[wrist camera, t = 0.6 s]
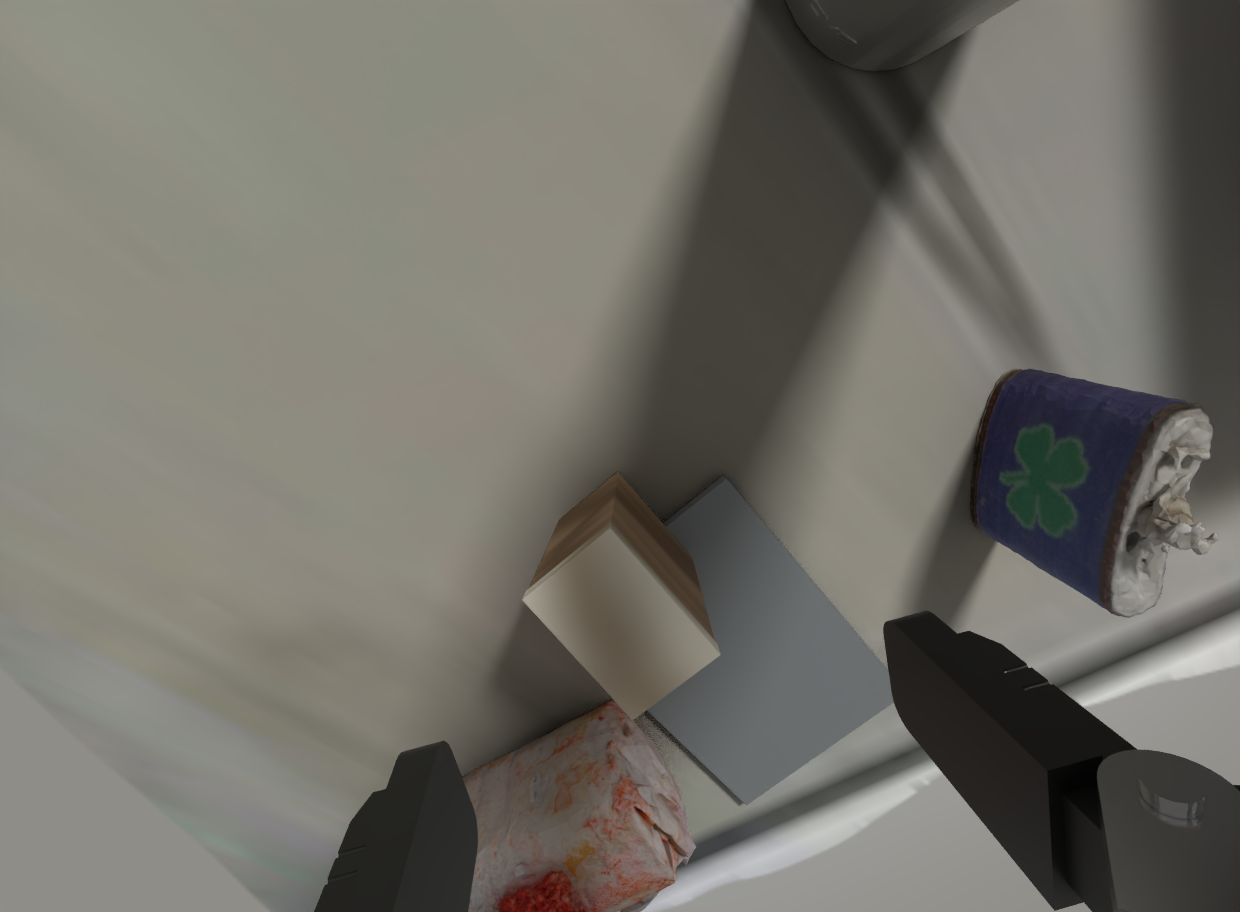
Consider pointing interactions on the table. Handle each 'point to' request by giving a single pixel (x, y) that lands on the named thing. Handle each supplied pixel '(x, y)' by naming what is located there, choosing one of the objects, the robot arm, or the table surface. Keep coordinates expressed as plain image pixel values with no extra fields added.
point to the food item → (578, 821)
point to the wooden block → (623, 598)
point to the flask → (1090, 482)
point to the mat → (764, 654)
